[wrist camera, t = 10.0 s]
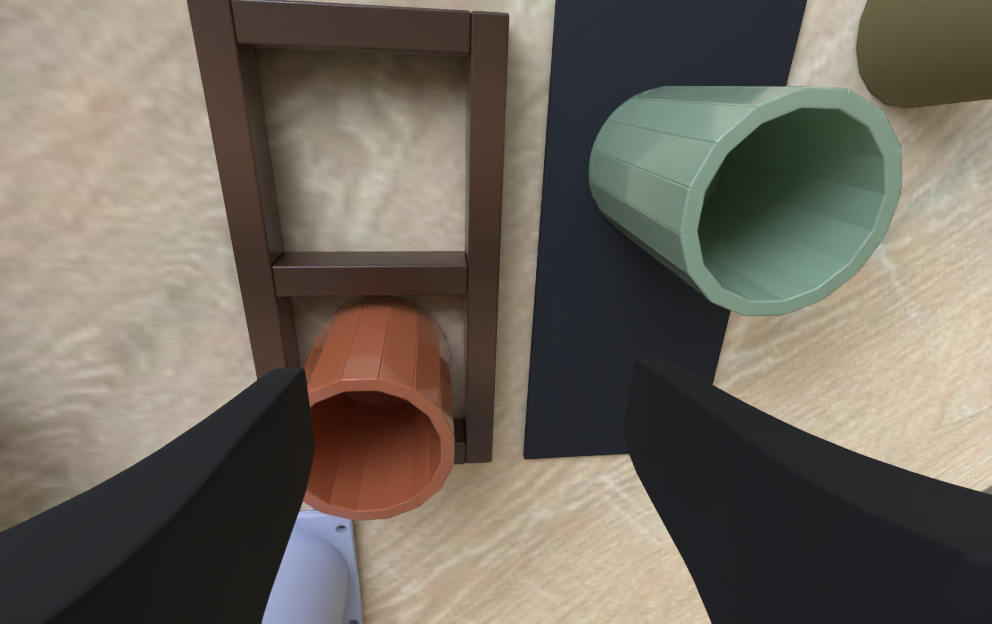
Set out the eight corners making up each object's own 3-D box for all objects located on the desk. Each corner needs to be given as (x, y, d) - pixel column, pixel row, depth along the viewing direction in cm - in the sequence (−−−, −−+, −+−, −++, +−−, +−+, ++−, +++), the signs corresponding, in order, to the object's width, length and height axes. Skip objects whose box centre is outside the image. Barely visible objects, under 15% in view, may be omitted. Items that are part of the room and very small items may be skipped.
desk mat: (693, 446, 26) (696, 450, 26) (523, 455, 25) (524, 459, 25) (802, -3, 18) (808, -4, 18) (556, -19, 17) (558, -21, 17)
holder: (487, 437, 24) (492, 463, 23) (285, 447, 23) (274, 474, 22) (502, 19, 17) (509, 12, 16) (209, 3, 16) (184, -6, 14)
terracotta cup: (448, 406, 23) (454, 514, 17) (323, 411, 23) (285, 526, 17) (447, 294, 21) (454, 375, 15) (309, 296, 20) (259, 382, 14)
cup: (710, 235, 21) (858, 314, 14) (580, 235, 20) (664, 318, 13) (742, 89, 19) (938, 91, 11) (597, 83, 18) (708, 82, 11)
